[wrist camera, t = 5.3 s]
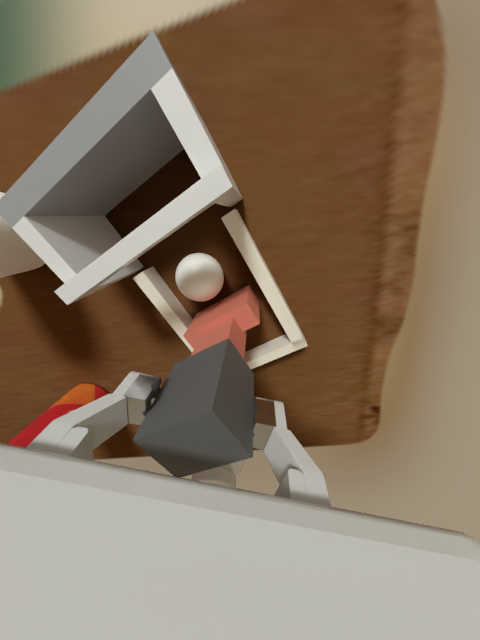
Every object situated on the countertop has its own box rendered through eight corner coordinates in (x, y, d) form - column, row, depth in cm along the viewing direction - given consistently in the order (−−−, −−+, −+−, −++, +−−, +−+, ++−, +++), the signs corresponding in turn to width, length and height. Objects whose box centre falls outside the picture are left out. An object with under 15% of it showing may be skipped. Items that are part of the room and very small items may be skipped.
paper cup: (124, 422, 30) (30, 569, 18) (70, 412, 30) (-63, 552, 18) (120, 382, 27) (0, 529, 14) (59, 370, 27) (-116, 508, 14)
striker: (213, 336, 22) (160, 483, 10) (196, 313, 21) (115, 446, 9) (264, 310, 20) (274, 451, 8) (248, 284, 19) (235, 401, 7)
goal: (134, 273, 20) (67, 305, 13) (84, 210, 18) (-29, 206, 11) (243, 198, 17) (232, 186, 10) (197, 110, 15) (140, 8, 7)
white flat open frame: (220, 371, 25) (217, 383, 23) (143, 272, 20) (132, 278, 18) (303, 335, 22) (307, 345, 20) (237, 209, 17) (234, 208, 15)
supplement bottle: (198, 406, 28) (171, 493, 19) (219, 381, 25) (199, 467, 17) (232, 423, 29) (221, 514, 20) (255, 401, 26) (254, 491, 18)
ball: (200, 299, 21) (188, 316, 17) (175, 263, 19) (157, 275, 16) (234, 279, 20) (229, 294, 16) (210, 240, 18) (199, 246, 15)
